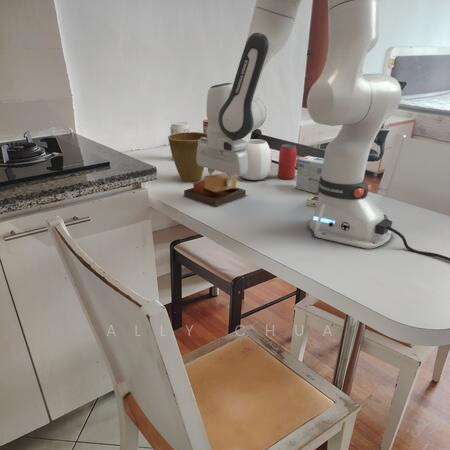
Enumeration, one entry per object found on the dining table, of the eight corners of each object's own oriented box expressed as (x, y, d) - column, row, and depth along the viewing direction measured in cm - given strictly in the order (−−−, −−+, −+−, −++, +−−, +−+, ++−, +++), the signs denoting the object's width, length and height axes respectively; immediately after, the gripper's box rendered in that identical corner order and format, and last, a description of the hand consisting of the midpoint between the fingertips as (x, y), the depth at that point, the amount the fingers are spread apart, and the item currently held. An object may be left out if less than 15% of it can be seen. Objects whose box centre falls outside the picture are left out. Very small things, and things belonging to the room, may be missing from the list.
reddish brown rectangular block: (223, 191, 145) (223, 180, 142) (203, 198, 138) (203, 186, 136) (213, 188, 147) (213, 177, 145) (193, 194, 141) (193, 183, 139)
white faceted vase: (262, 171, 168) (264, 137, 160) (276, 180, 157) (278, 144, 150) (232, 174, 164) (232, 139, 157) (243, 184, 154) (245, 146, 146)
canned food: (220, 144, 210) (220, 119, 203) (217, 148, 203) (217, 122, 197) (205, 144, 211) (205, 118, 205) (202, 147, 204) (201, 121, 198)
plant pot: (190, 172, 167) (188, 130, 158) (217, 179, 159) (217, 135, 150) (162, 180, 157) (159, 135, 149) (190, 188, 149) (188, 141, 141)
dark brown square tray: (245, 195, 142) (245, 189, 141) (215, 206, 133) (215, 200, 132) (214, 186, 151) (214, 181, 150) (184, 196, 141) (183, 190, 140)
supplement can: (174, 156, 188) (172, 121, 180) (192, 157, 188) (191, 122, 179) (170, 161, 182) (168, 124, 174) (188, 161, 181) (187, 125, 173)
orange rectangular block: (235, 187, 140) (236, 176, 138) (214, 192, 134) (215, 179, 131) (225, 184, 143) (226, 172, 141) (204, 188, 136) (205, 175, 134)
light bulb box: (330, 190, 147) (334, 160, 141) (320, 195, 143) (324, 163, 137) (305, 184, 153) (308, 154, 148) (294, 188, 149) (297, 158, 143)
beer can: (293, 180, 158) (297, 147, 151) (276, 179, 159) (279, 147, 152) (294, 175, 163) (297, 144, 157) (278, 174, 164) (280, 143, 158)
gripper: (191, 137, 134) (192, 179, 142) (238, 147, 122) (237, 192, 130) (204, 134, 138) (205, 175, 145) (251, 143, 126) (249, 188, 134)
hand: (220, 183), depth 138 cm, fingers closed on orange rectangular block, 5 cm apart
